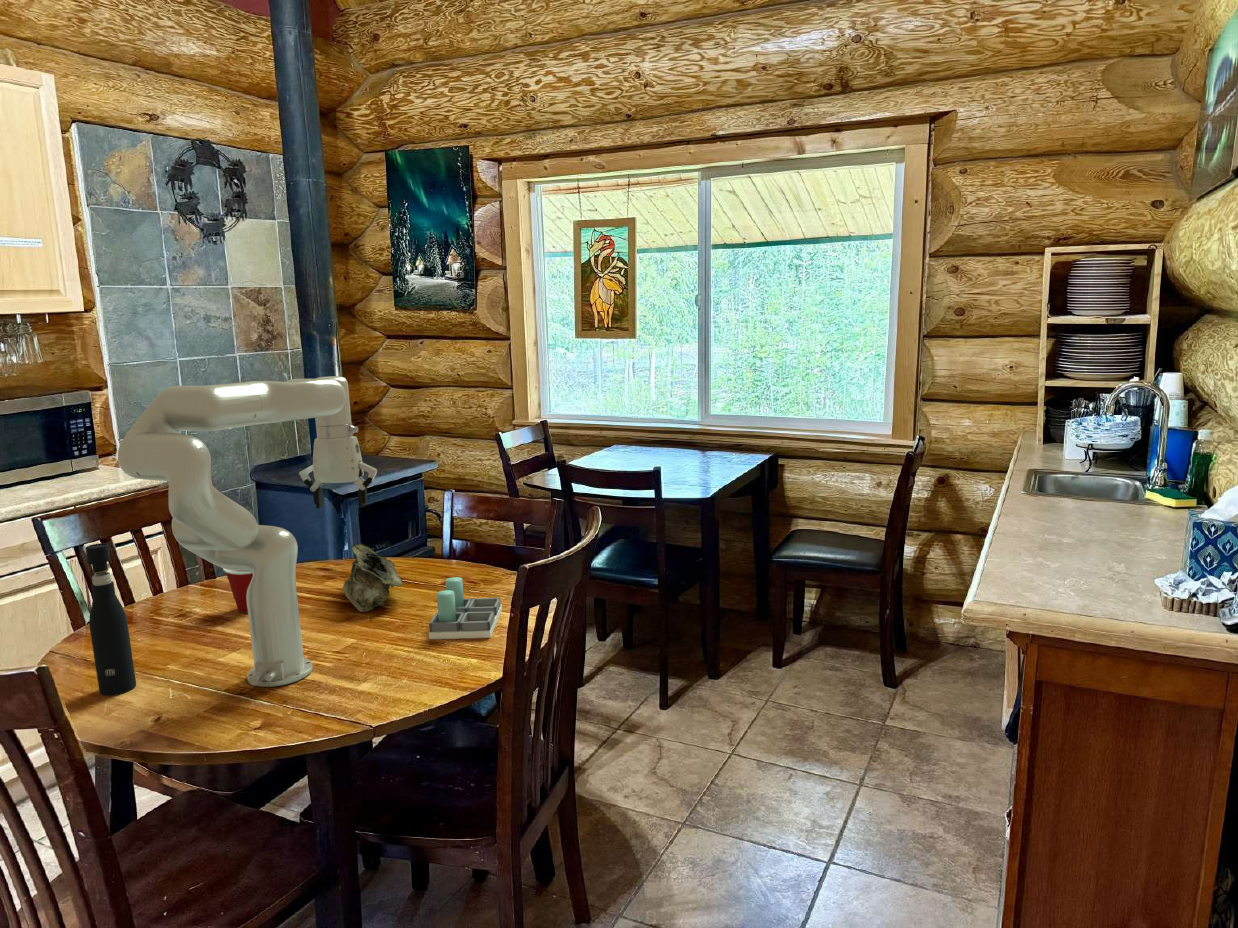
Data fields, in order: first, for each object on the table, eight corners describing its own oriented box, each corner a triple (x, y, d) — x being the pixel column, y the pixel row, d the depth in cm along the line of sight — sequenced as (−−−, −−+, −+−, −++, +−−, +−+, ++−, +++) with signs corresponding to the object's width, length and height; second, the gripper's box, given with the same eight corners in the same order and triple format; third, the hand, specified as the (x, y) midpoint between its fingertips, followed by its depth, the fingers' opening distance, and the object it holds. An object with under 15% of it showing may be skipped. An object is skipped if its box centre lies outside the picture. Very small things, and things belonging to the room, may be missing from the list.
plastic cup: (242, 619, 204) (236, 573, 202) (219, 611, 211) (214, 565, 209) (282, 606, 213) (277, 561, 211) (259, 598, 219) (255, 555, 217)
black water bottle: (129, 678, 172) (108, 539, 167) (141, 687, 168) (121, 544, 163) (94, 690, 167) (72, 546, 162) (106, 698, 163) (84, 552, 158)
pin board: (490, 637, 188) (488, 597, 187) (429, 639, 189) (426, 599, 187) (502, 609, 206) (500, 572, 204) (446, 610, 206) (443, 574, 204)
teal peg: (465, 608, 203) (463, 576, 202) (462, 614, 199) (460, 582, 198) (449, 608, 203) (447, 577, 202) (446, 614, 200) (443, 582, 198)
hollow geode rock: (371, 596, 233) (329, 563, 228) (402, 563, 233) (361, 529, 229) (367, 630, 206) (319, 592, 202) (403, 591, 207) (355, 553, 202)
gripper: (378, 428, 189) (384, 502, 192) (302, 430, 189) (309, 503, 192) (368, 433, 181) (374, 509, 184) (289, 435, 181) (297, 511, 185)
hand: (341, 506), depth 188 cm, fingers open, 9 cm apart
